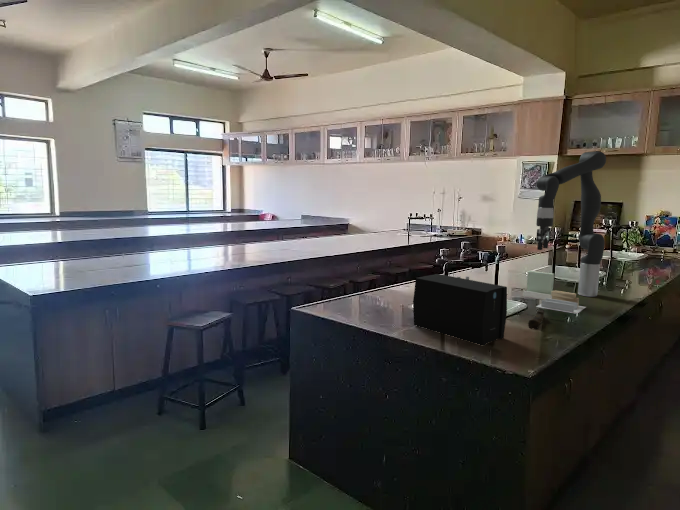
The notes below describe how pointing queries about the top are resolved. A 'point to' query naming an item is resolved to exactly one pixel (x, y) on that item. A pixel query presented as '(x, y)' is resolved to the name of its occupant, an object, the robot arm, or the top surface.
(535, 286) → the sage board
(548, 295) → the white stand
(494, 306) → the uninterruptible power supply
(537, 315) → the hand tool
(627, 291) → the top surface
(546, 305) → the grey rack
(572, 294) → the offcut stack
